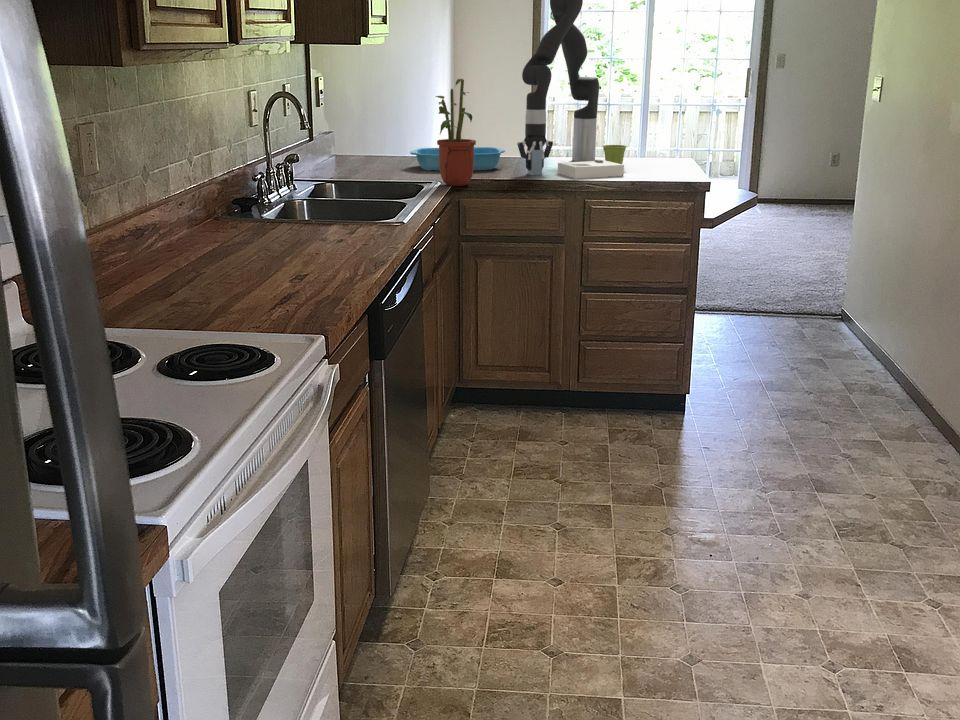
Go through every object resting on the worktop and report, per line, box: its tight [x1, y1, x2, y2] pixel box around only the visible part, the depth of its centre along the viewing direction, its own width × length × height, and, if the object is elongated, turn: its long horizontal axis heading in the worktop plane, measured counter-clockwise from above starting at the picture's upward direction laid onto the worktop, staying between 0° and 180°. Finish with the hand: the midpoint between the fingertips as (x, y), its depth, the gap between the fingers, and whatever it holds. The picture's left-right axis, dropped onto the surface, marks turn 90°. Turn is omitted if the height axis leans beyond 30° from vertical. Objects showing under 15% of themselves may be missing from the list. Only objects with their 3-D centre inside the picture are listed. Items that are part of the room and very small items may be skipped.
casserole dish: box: [409, 146, 506, 172], centre depth 374 cm, size 37×22×7 cm, turn 96°
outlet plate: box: [557, 159, 625, 179], centre depth 356 cm, size 14×20×5 cm
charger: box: [527, 150, 543, 176], centre depth 356 cm, size 4×4×9 cm
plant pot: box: [601, 144, 628, 165], centre depth 373 cm, size 9×9×9 cm
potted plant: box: [434, 78, 477, 187], centre depth 325 cm, size 17×16×35 cm
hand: (534, 169), depth 357 cm, fingers closed on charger, 4 cm apart
